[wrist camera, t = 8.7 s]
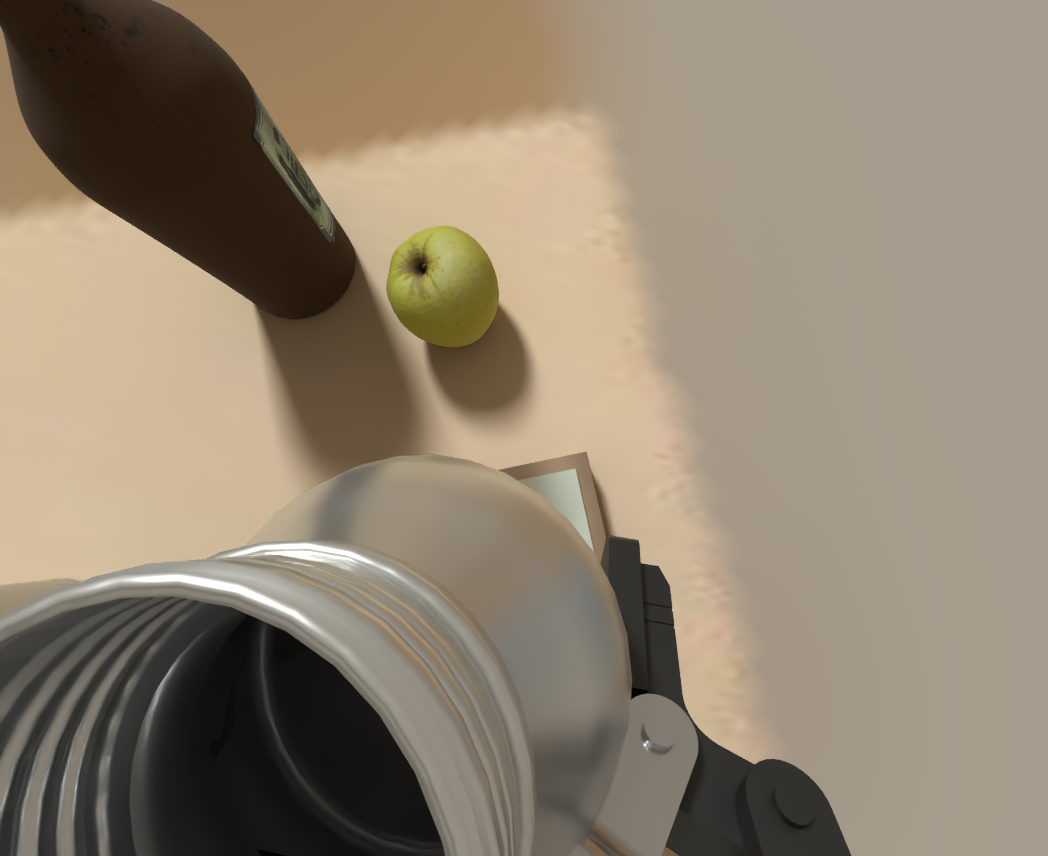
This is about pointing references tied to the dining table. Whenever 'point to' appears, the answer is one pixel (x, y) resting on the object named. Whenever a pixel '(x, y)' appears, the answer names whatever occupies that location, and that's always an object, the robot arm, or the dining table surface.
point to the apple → (443, 287)
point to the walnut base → (567, 493)
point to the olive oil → (175, 145)
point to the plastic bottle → (327, 684)
